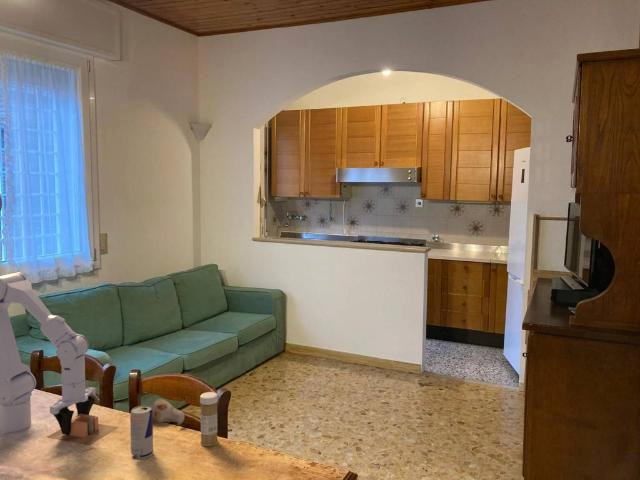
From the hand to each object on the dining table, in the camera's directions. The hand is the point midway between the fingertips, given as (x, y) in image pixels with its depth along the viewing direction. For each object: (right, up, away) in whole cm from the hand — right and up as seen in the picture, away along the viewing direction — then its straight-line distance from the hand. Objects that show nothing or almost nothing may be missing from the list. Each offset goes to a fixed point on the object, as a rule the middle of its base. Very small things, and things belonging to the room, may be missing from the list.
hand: (74, 429), depth 139 cm
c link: (+3, 0, -1) cm, 3 cm away
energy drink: (+22, -3, -10) cm, 24 cm away
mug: (+23, -2, +9) cm, 25 cm away
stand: (+3, -2, -1) cm, 3 cm away
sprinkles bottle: (+38, -3, -3) cm, 38 cm away
